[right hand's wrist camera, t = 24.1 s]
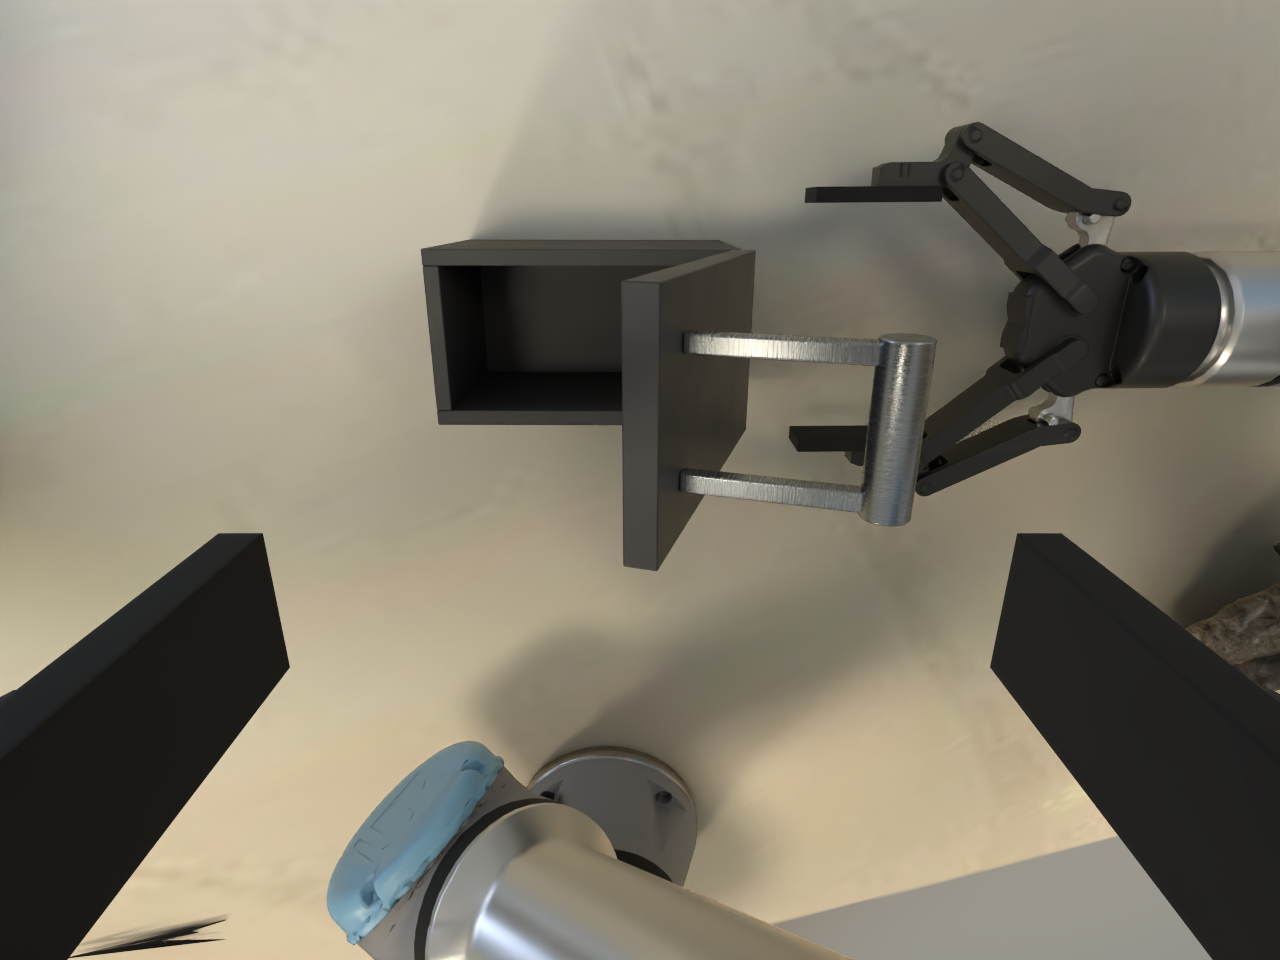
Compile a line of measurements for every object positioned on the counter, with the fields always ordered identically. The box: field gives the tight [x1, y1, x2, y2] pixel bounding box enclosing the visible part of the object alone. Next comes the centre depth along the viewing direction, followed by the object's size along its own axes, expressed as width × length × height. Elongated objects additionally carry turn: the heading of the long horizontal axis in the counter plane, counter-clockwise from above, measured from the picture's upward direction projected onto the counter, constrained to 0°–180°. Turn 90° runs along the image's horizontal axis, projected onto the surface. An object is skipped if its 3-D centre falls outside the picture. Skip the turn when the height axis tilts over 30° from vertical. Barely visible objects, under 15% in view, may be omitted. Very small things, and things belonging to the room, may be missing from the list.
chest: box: [421, 240, 741, 425], centre depth 43 cm, size 16×9×11 cm, turn 90°
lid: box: [621, 250, 937, 571], centre depth 28 cm, size 17×9×9 cm
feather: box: [69, 920, 225, 958], centre depth 68 cm, size 2×28×2 cm
